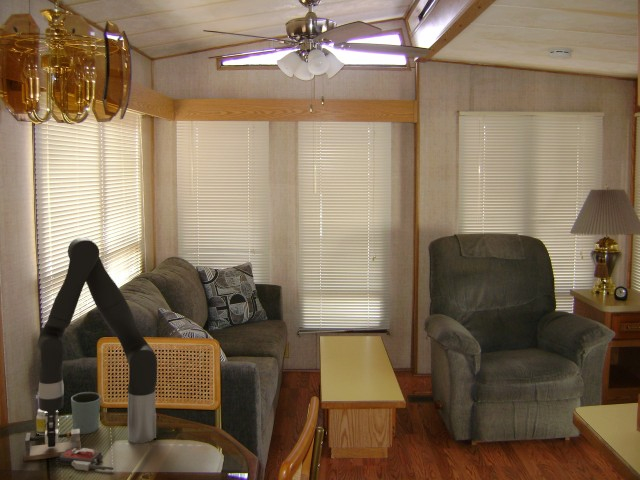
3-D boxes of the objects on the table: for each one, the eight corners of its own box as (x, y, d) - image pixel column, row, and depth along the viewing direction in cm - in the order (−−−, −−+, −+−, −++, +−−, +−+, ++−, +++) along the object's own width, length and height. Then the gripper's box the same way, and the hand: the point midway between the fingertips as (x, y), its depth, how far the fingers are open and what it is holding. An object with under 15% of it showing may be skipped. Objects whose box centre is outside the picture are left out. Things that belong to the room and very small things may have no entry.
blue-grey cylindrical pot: (80, 421, 231) (80, 390, 230) (106, 424, 230) (106, 393, 228) (65, 433, 221) (65, 401, 220) (92, 436, 220) (92, 403, 218)
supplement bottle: (45, 436, 219) (45, 413, 218) (33, 434, 220) (33, 411, 218) (54, 430, 223) (53, 407, 222) (42, 428, 224) (41, 406, 223)
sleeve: (58, 438, 209) (58, 429, 208) (58, 443, 206) (58, 433, 205) (45, 440, 207) (45, 430, 207) (45, 444, 204) (44, 434, 204)
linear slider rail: (80, 444, 213) (80, 426, 213) (80, 453, 207) (80, 434, 206) (25, 451, 207) (25, 432, 206) (24, 460, 201) (23, 441, 200)
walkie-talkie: (51, 468, 198) (111, 474, 195) (51, 454, 197) (111, 461, 194) (66, 455, 206) (124, 461, 204) (66, 442, 206) (124, 448, 203)
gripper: (63, 400, 199) (63, 451, 201) (64, 385, 212) (64, 433, 214) (37, 402, 196) (38, 454, 199) (39, 387, 209) (40, 436, 212)
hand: (52, 443), depth 207 cm, fingers closed on sleeve, 3 cm apart
